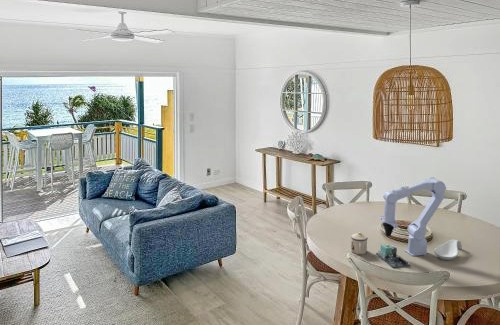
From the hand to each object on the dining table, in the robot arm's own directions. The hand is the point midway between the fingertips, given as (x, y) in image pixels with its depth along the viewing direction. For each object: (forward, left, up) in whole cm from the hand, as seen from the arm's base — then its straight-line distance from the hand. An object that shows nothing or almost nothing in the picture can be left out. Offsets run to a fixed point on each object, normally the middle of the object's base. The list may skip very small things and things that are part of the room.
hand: (388, 236), depth 221 cm
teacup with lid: (+15, -5, -11) cm, 19 cm away
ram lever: (+2, +9, -9) cm, 13 cm away
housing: (+2, +3, -9) cm, 9 cm away
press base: (+2, +8, -10) cm, 13 cm away
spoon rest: (-33, +10, -11) cm, 36 cm away
